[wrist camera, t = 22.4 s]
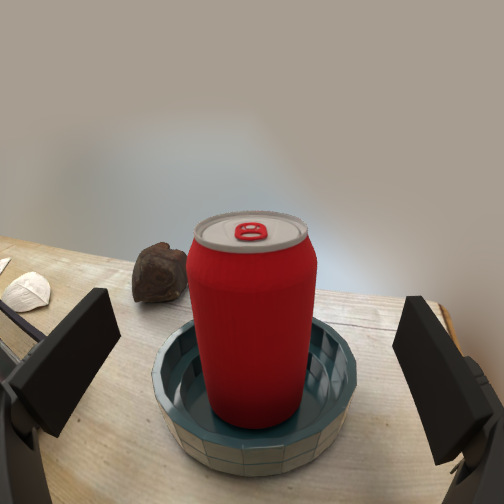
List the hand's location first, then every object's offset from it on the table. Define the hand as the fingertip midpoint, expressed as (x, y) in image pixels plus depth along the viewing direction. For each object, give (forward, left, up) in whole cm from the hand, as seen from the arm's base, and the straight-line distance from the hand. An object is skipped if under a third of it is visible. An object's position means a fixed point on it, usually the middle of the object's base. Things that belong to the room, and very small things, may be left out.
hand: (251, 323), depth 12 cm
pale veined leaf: (+33, -7, -7) cm, 35 cm away
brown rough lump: (+16, -20, -8) cm, 28 cm away
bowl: (+1, -3, -10) cm, 10 cm away
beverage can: (+1, -3, -9) cm, 9 cm away
